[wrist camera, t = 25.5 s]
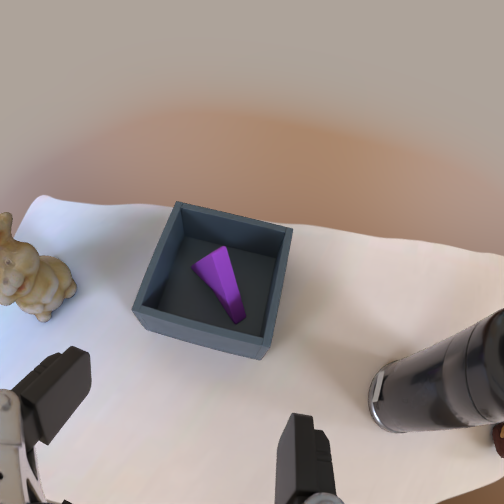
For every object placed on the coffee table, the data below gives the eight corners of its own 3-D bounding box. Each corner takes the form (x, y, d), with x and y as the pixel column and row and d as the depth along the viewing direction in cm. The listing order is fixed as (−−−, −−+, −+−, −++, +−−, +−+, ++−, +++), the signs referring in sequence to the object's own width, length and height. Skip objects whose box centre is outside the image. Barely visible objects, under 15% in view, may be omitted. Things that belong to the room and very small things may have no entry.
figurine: (55, 347, 32) (-17, 301, 19) (12, 317, 32) (-57, 264, 19) (89, 280, 37) (39, 209, 24) (45, 257, 37) (-7, 188, 24)
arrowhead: (222, 301, 41) (264, 328, 33) (212, 308, 40) (252, 337, 32) (188, 233, 37) (225, 245, 29) (176, 240, 37) (210, 254, 28)
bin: (282, 257, 41) (293, 228, 35) (260, 360, 34) (270, 347, 28) (181, 233, 41) (176, 200, 36) (145, 329, 35) (131, 310, 29)
